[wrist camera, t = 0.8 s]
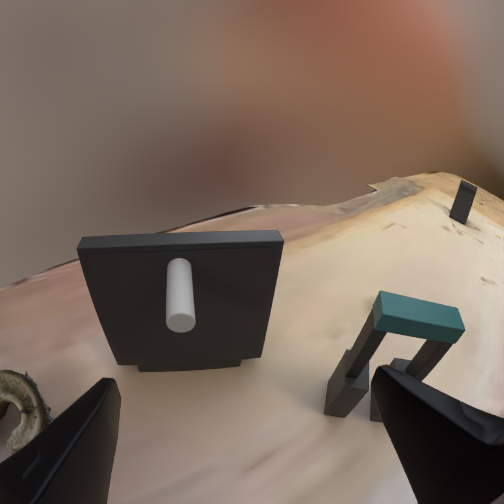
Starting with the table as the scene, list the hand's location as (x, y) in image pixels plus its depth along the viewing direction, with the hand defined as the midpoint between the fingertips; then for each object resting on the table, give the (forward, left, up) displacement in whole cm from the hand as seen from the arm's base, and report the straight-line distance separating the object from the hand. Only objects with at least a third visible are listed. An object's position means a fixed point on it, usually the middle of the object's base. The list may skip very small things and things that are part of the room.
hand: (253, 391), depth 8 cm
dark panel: (+12, +1, -16) cm, 20 cm away
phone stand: (+36, -84, -16) cm, 92 cm away
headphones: (+3, -14, -16) cm, 21 cm away
